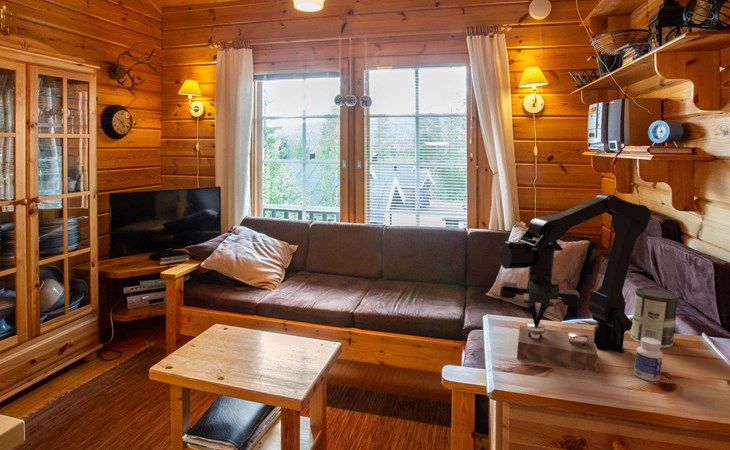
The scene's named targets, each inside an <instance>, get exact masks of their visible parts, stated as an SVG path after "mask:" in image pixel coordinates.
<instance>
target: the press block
mask: <svg viewBox="0 0 730 450" xmlns="http://www.w3.org/2000/svg"><path fill="white" fill-rule="evenodd" d="M568 333H569V332H567V331H561V330H560V331H559V330H554V329H546V328H545V333H543V334H540V339H537V338H531V332H529V331H527V325H519V332H518V340H517V352H516V359H517V360H524V361H528V362H533V363H534V362H535V363H540V364H547V365H551V366H556V367H563V368H569V369H572V370H573V369H574V370H580V371H586V372H590V373H597V367H598V359H599V358H598V356H599V354H598V349H597V348H596V344H595V343H594V340H593V336H592V335H588V334H586V335H587V336H588V339H587V344H584V345H575V344H572V342H570V341H569V340H568Z"/></svg>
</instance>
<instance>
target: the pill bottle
mask: <svg viewBox="0 0 730 450" xmlns="http://www.w3.org/2000/svg"><path fill="white" fill-rule="evenodd" d="M639 344H640V345H639V346H638V347H637V348H636V351H635V360H634V366H633V367H634V368H633V374H634V375H635V376H636V377H638V378H639V379H641V380H645V381H649V382H657V381H660V379H661V373H662V365H663V358H664V353H663V352H662V350H661V342H660V341H658V340H656V339H653V338H647V337H644V338H641V342H640V343H639Z"/></svg>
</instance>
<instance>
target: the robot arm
mask: <svg viewBox="0 0 730 450" xmlns="http://www.w3.org/2000/svg"><path fill="white" fill-rule="evenodd" d="M603 214H606V215H609V216H611V226H612V229H613V233H614V236H613V237H614V238H613V242H612V244H611V247H610V252H609V256H608V260H607V263H606V264H607V265H606V267H605V271H604V276H603V279H602V283H601V285H600V287H598V289H596V290H593V289H592V290H590V294H589V299H588V301H587V302H586V304H588V307H587V308H588V311H589V313H590V315H591V316H592V321H593V320H594V321H596V322H597V323H596V326H594V327H593V328H594V329H593V336H592V337H593V340H594V344H595V347H596V349H597V350H598V349H599V350H602V351H603V350H605V351H610V352H617V353H625V350H624V340H625V333H626V331H627V332H629V331H631V330H632V325H633V323H632V321H633V320H631V319H630V318H629V317H628V316H627V314H626V313H625V311H626V304H627V303H626V301H625V296H624V294H623V290H624V286H625V282H626V278H627V274H628V270H629V267H630V265H631V260H632V256H633V253H634V249H635V244H636V241H637V239H638V238H639V237H640V236H642V234H643V233H644V232H645V231H646V230H647V227H648V225H649V223H650V220H651V219H652V218H651V217H652V212H651V211H650V209H649V207H647V206H646V205H644V204H638V203H634V202H633V203H632V202H630V201H627V200H625V199H622V198H620V197H618V196H616V195H614V194H606V193H600V194H598V195H596V196H595V197H593V198H590V199H589V200H587V201H584V202H582V203H580V204H578V205H575V206H573V207H570V208H569V209H566V210H564V211H562V212H559V213H554V214H547V215H543V216H539V217H535V218H532V219H531V221H529V225H528V227H527V229H526V230H525V231H524V233H523V234H522V235H521V236H520V238H519V239H518V241H509V240H508V241H505V242H504V246H503V247H502V248H501V251H500V252H499V262H500V265H501V267H503V269H506V270H507V269H509V270H510V269H511V270H512V269H527V268H528V276H527V277H528V278H527V286H526V287H519V286H518V283H517V282H509V281H503V282H502V283H501V286H500V294H499V295H500V296H499V297H501V298H505V299H511V300H512V299H514V298H515V297H516V296H517V295H519V296H522V297H523V299H522V302H523V303H524V304H527V306H528V308H529V310H530V313H531V316H532V320H533V321H532V322H534V325H535V326H538V325H539V323H540V322H541V320H542V319H543V316H544V314H545V312H546V311H547V309H549V307H554V306H555V303H554V301H555V300H560V301H561V302H562V303H563V305H565V306H567V307H569V306H570V307H577V308H579V307H580V299H581V298H580V293H579V291H577V290H576V289H568V288H561V291H560V284H554V283H553V275H554V274H553V273H554V264H555V263H554V262H555V261H554V260H555V252H559V251H560V252H562V251H563V250H564V248H563V246H561V245H560V244H559V243H558V241H559V240H560V239H562V238H563V237H565V236H566V234H567V233H568V232H569V230H571V229H573V228H575V227H577V226H579V225H581V224H583V223H586V222H587V221H590V220H592V219H594V218H596V217H598V216H601V215H603ZM537 303H538V304H539V307H538V310H537ZM537 311H538V312H537Z"/></svg>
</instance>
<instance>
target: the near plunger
mask: <svg viewBox="0 0 730 450" xmlns="http://www.w3.org/2000/svg"><path fill="white" fill-rule="evenodd" d="M587 335H588V334H585V333H583V332H578V331H570V332H568V340H569V341H570V342H572V344H575V345H584V344H587V339H588V336H589V335H588V336H587Z"/></svg>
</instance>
